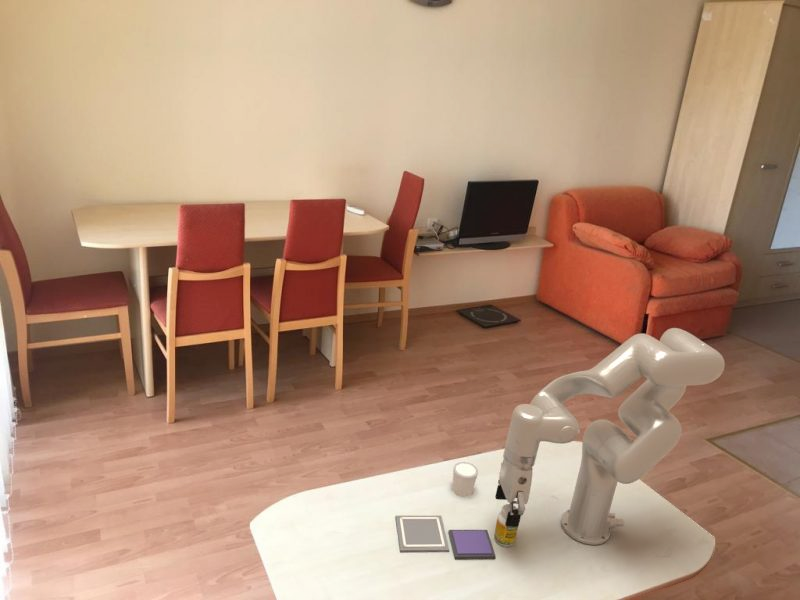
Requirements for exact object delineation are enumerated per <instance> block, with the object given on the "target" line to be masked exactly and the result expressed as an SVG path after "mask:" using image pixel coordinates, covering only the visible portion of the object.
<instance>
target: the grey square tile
mask: <svg viewBox="0 0 800 600" xmlns="http://www.w3.org/2000/svg"><path fill="white" fill-rule="evenodd" d="M395 525H396V531H397V537H398V545H399V551H400V552H399V553H449V552H450V548H449V547H450V546H449V543H448V540H447V535H446V530H445V526H444V522H443V517H442V515H395Z"/></svg>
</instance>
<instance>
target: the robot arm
mask: <svg viewBox="0 0 800 600" xmlns="http://www.w3.org/2000/svg"><path fill="white" fill-rule="evenodd" d="M725 363H726V362H725V359H724V356H723V355H722V354H721V353H720V352H719V351H718V350H717V349H715V348H713V347H712V346H710V345H708V344H707V343H706V342H704V341H703V340H701V339H699V338H698V337H696V336H695V335H693V334H692V333H690V332H689V331H686V330H684V329H682V328H679V327H678V328H677V327H671V328H668V329H667V330H666V331H664V332H663V334H662V335H661V337H660V339H659V340H658V339H657V338H656V337H653V336H652V335H649V334H648V333H647V334H646V333H637V334H634V335H632V336H630V338H628V339H627V340H625V341H624V342H623V343H622V344H620V345H619V346H618V347H616V349H615V350H614V351H612V352H611V353H610V354H608V355H607V356H606V357H605V358H603V359H602V360H601V361H600V362H598V363H597V364H596V365H595V366H593V367H592V368H590V369H587V370H581V371H575V372H572V373H569V374H564V375H562V376H560V377H559V376H558V377H557V378H556V379H554V380H552V381H551V382H550V383H548V384H547V385H546V386H544V387H543V388H542V389H541V390H540V391H538V393H536V395H535V396H534V397H533V398H532V399H531V401H530V403H520V404H518V405H517V406H515V408H514V409H513V411H512V415H511V419H510V424H509V428H508V432H507V437H506V442H505V446H504V451H503V454H502V457H503V460H502V462H501V464H500V472H499V476H498V478H499V479H498V481H497V482H498V485H497V487H496V492H495V496H494V497H495V499H496V500H501V501H502V500H504V501H507V503H509V504H510V512H508V515H507V519H506V523H505V525H506V527H518V528H519V525H520V521H521V518H522V516H523V515H524V513H525V511H526V505H527V504H528V502H529V497H530V494H531V489H532V483H533V482H532V481H533V469H534V468H533V467H535V463H536V460H537V455H538V453H539V452H538V451H539V447H540V444H541V442H547V443H553V444H561V445H563V444H569V443H572V442H573V441H575V440H576V438H578V436H579V434H580V429H581V428H580V424H579V421H578V420H577V418H575V416H574V415H573V414H572V413H571V411H569V410H568V409H567V408H566V407H565V406H564V403H565V402H566V401H568V400H569V399H571V398H573V397H576V396H579V395H594V396H601V397H605V398H609V399H613V398H617V397H619V396H620V395H621V394H622V393H624V392H625V391H626V390H627V389H629V388H630V387H631V386H632V385H634V384H635V383H637V381H638V380H640V379H641V378H642V377H645V378H646V380H645V381H644V382H643V383H641V385H640V386H639V387H637V388H636V389H635V390H634V392H632V393H631V394H630V395H629V396H628V397H627V398H626V399H625V400H624V401H623V402H622V403H621V405H620V406H619V408H618V410H617V411H618V412H617V415H618V418H619V420H620V421H621V422H622V423H623V425H624V426H625V427H626V428H627V429H629V431H630V432H631V433H632V434H634V436H636V439H634V441H633V439H631V437H630V436H629V435H628V434H627V433H626V432H625V431H624V430H623V429H621V428H620V427H619V426H618V425H617V424H615V423H614V422H612V421H610V420H608V419H602V418H601V419H596V420H594V421H592V422H591V423H589V424H588V426H587V427H586V428H585V430H584V433H583V434H582V443H581V444H582V445H581V449H582V450H581V452H582V453H581V461H580V466H579V471H578V473H577V478H576V482H575V486H574V491H573V495H572V499H571V503H570V507H569V509H567V510H565V511H564V512H563V513H562V514H561V518H560V523H561V524H560V525H561V527H562V529H563V530H564V532H565V533H566V534H567V535H568V536H569V537H570V538H572V539H574V540H575V541H577V542H579V543H583V544H586V545H601V544H604V543H606V542H607V541H608V540H609V538H610V535H611V528H613V527H624V526H625V520H624V519H623V518H616V514H615V513H614V512H610V511H611V507H612V503H613V501H614V496H615V493H616V489H617V486H618V483H619V484H623V485H628V484H633V483H634V482H636V481H638V480H640V479H641V478H642V477H644V476H645V475H646V474H647V473H648V472H650V470H652V469H653V468H654V467H655V466H657V464H658V463H659V462H660V461H662V460H663V458H665V457H666V456H667V455H668V454H669V453H670V452H671V451H672V450H673V449H674V448H675V447H676V445H677V444H678V443H679V441H680V440H681V439H680V438H681V436H682V433H683V432H682V431H683V430H682V425H681V423H680V420H679V419H678V418H677V417H676V416H675V415H674V414H672V413H671V412H670V410H671V409H672V408H673V407H674V406H675V405H676V404H677V403H678V402H679V401H680V400H681V399H682V397H683V396H684V394H685V393H686V389H687V386H701V385H702V386H703V385H707V384H710V383H713V382H714V381H716V380H718V379H719V377H721V375H722V374H723V372H724V370H725V365H726V364H725ZM515 499H516V500H515ZM514 504H516V505H517V507H516V508H517V509H514V510H513V506H514Z"/></svg>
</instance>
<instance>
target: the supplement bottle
mask: <svg viewBox="0 0 800 600" xmlns="http://www.w3.org/2000/svg"><path fill="white" fill-rule="evenodd" d="M517 508H518V507H516V506H515V505H513V510H514V509H517ZM508 512H510V503H509V504H507V503H506V504H504V505H502V507H501V511H499V513H498V514H497V518H496V524H495V531H494V535H493V537H494V538H493V539H494V541H495V543H496V544H498V545H499V546H502V547H506V548H507V547H511V546H513V545H514V544H515V543H516V539H517V532H518V528H519V526H518V527H506V525H505V523H506V519H507V515H508Z"/></svg>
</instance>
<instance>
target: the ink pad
mask: <svg viewBox="0 0 800 600" xmlns="http://www.w3.org/2000/svg"><path fill="white" fill-rule="evenodd" d="M447 534H448V536H449V541H450V545H451V550H452V554H453V558H454V560H456V561H458V560H496V553H495V550H494V547H493V544H492V540H491V537H490V535H489V534H490V533H489V532H488V529H448V533H447Z"/></svg>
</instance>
